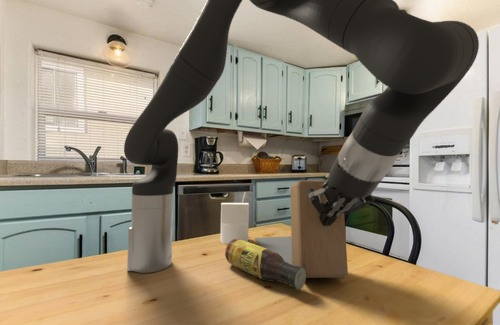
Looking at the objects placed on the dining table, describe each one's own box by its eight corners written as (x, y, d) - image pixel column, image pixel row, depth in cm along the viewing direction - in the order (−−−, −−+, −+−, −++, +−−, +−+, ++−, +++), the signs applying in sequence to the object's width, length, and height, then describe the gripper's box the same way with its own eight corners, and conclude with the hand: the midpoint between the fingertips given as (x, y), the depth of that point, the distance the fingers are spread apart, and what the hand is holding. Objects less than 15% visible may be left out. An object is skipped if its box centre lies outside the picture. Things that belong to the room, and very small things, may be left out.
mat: (274, 268, 58) (274, 267, 58) (254, 238, 81) (254, 237, 81) (336, 265, 61) (336, 263, 61) (300, 237, 84) (300, 236, 84)
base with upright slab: (247, 236, 84) (248, 201, 84) (248, 245, 75) (249, 206, 75) (221, 236, 83) (222, 201, 84) (219, 245, 74) (220, 205, 75)
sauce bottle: (222, 242, 58) (289, 266, 44) (241, 234, 63) (308, 253, 48) (224, 269, 59) (292, 301, 44) (243, 259, 63) (310, 285, 49)
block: (350, 279, 49) (343, 180, 53) (300, 278, 49) (297, 179, 53) (332, 268, 58) (328, 185, 63) (291, 268, 58) (289, 185, 62)
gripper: (387, 148, 42) (346, 206, 54) (316, 145, 40) (290, 207, 52) (412, 180, 37) (361, 237, 49) (331, 179, 35) (299, 239, 47)
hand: (324, 221), depth 50 cm, fingers closed
